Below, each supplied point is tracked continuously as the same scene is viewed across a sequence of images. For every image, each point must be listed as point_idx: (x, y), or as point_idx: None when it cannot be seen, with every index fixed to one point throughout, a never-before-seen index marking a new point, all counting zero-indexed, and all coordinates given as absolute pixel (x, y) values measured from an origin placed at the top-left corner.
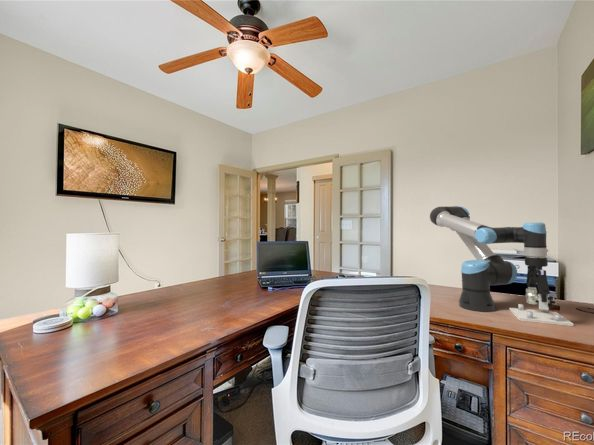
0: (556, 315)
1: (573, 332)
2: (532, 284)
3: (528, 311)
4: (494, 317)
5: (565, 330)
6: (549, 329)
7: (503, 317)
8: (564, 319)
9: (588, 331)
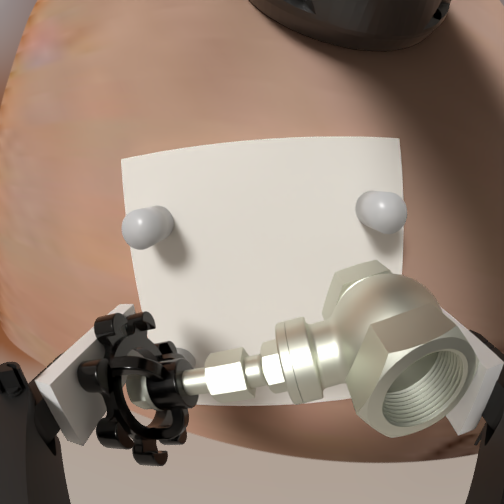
0: None
1: None
2: (492, 439)
3: (151, 224)
4: (135, 39)
5: None
6: (57, 277)
7: (154, 77)
8: None
9: None
